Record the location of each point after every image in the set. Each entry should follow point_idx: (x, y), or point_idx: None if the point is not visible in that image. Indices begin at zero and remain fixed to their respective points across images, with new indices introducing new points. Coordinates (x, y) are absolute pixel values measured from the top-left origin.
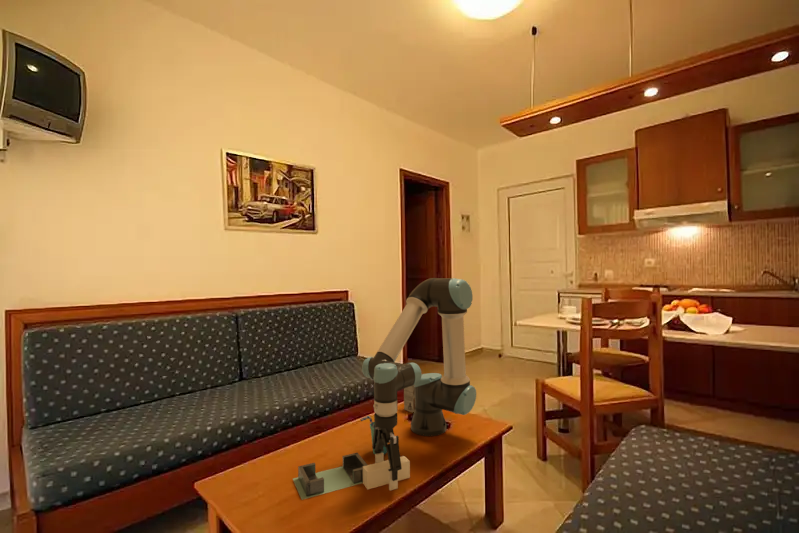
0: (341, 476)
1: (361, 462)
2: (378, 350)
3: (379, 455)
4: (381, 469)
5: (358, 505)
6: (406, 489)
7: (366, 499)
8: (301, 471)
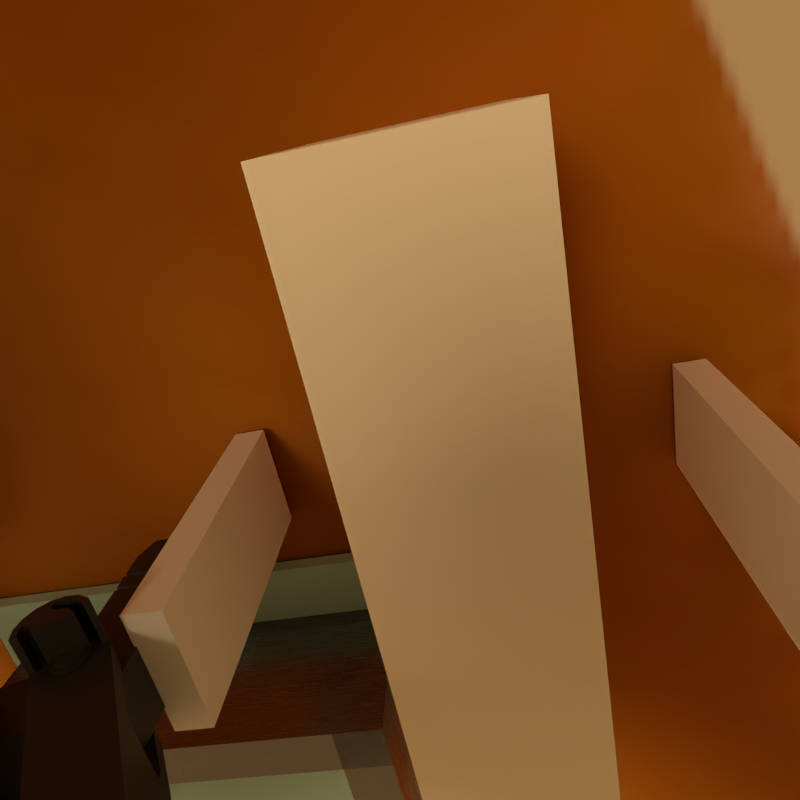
0: (265, 797)
1: (222, 778)
2: None
3: (197, 658)
4: (606, 680)
5: (773, 751)
6: (756, 241)
7: (718, 683)
8: None
